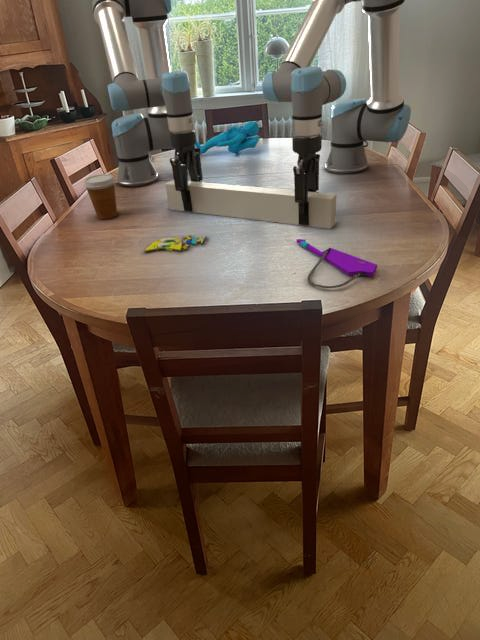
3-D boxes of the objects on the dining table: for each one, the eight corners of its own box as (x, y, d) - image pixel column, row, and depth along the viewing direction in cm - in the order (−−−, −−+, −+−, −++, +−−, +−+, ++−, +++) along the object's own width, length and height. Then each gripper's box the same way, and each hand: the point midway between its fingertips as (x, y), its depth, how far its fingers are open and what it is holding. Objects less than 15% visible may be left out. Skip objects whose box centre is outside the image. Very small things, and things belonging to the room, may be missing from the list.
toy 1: (199, 248, 125) (143, 249, 127) (199, 251, 125) (144, 252, 127) (206, 233, 133) (154, 234, 135) (206, 236, 133) (154, 237, 136)
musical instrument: (357, 300, 100) (389, 251, 113) (357, 292, 99) (389, 243, 111) (259, 284, 113) (297, 241, 125) (258, 277, 112) (296, 234, 124)
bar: (169, 209, 155) (165, 183, 150) (177, 204, 158) (173, 179, 153) (330, 228, 131) (331, 199, 127) (335, 223, 135) (336, 193, 130)
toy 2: (197, 135, 216) (259, 115, 206) (205, 158, 221) (266, 140, 211) (186, 144, 203) (252, 124, 192) (195, 169, 208) (260, 150, 198)
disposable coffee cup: (86, 219, 152) (76, 182, 146) (104, 209, 159) (95, 173, 153) (111, 222, 149) (102, 183, 142) (128, 211, 156) (120, 174, 149)
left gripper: (175, 138, 132) (187, 219, 145) (208, 124, 145) (216, 199, 157) (154, 137, 135) (167, 216, 148) (187, 124, 148) (197, 197, 161)
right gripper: (308, 144, 115) (308, 234, 128) (332, 128, 128) (330, 211, 141) (279, 142, 119) (282, 231, 131) (305, 127, 131) (306, 209, 144)
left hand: (192, 207), depth 153 cm, fingers closed on bar, 4 cm apart
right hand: (307, 220), depth 136 cm, fingers closed on bar, 4 cm apart
